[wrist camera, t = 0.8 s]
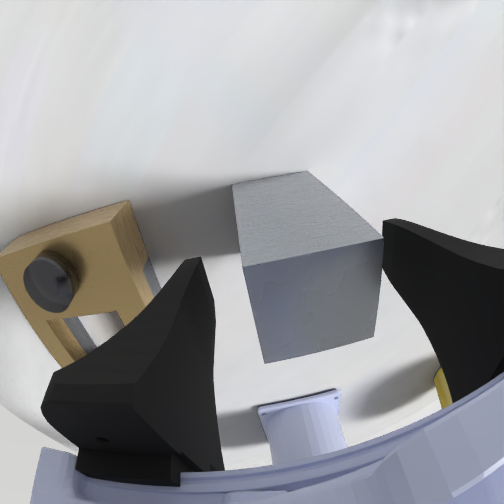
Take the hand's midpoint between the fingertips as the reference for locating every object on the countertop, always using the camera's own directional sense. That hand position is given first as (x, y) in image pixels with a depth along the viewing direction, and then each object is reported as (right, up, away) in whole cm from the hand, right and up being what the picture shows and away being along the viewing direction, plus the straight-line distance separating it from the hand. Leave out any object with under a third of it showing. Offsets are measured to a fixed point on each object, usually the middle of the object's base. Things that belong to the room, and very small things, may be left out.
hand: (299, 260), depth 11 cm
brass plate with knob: (-11, -4, +7) cm, 14 cm away
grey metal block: (-1, +2, +5) cm, 5 cm away
